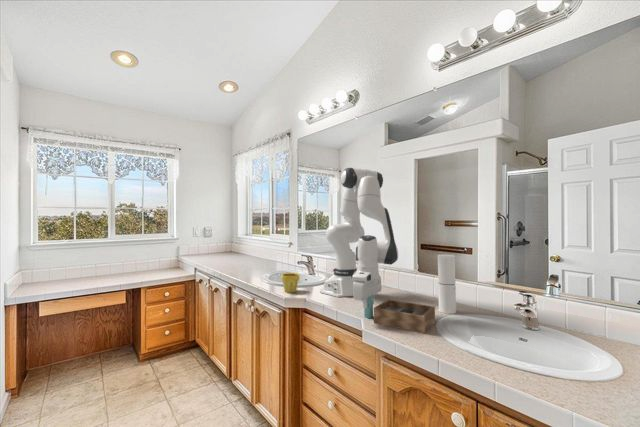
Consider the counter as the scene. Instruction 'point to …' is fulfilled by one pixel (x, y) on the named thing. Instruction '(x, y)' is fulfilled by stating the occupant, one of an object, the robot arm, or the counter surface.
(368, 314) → the peg
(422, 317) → the box
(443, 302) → the cylindrical container
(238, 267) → the counter surface
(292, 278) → the plant pot
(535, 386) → the counter surface
